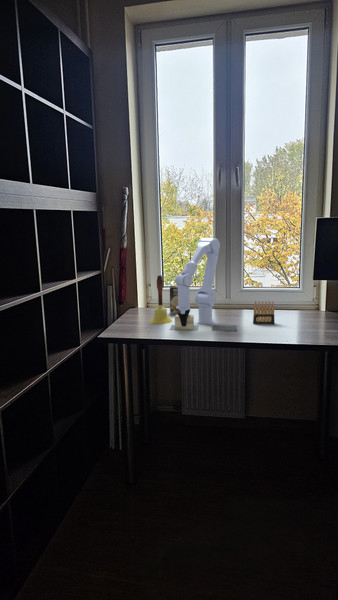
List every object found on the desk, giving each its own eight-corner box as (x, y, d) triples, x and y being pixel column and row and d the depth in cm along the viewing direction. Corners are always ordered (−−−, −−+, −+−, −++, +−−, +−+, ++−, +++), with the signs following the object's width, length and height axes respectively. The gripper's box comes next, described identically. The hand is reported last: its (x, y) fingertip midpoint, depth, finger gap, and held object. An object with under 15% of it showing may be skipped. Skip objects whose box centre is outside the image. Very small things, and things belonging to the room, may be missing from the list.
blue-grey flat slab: (171, 325, 214) (171, 325, 214) (198, 325, 212) (198, 325, 212) (169, 330, 204) (169, 330, 204) (197, 330, 202) (197, 330, 202)
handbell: (164, 325, 214) (162, 277, 210) (145, 322, 221) (143, 276, 216) (176, 320, 225) (175, 274, 220) (158, 317, 231) (156, 273, 227)
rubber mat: (212, 325, 211) (212, 325, 211) (236, 326, 209) (236, 325, 209) (212, 331, 201) (212, 330, 201) (237, 331, 200) (237, 330, 199)
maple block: (176, 326, 211) (175, 314, 210) (193, 326, 210) (193, 314, 209) (174, 328, 206) (174, 317, 205) (193, 329, 205) (192, 317, 204)
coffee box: (169, 315, 237) (169, 287, 234) (169, 312, 244) (169, 285, 241) (185, 314, 237) (185, 287, 234) (185, 312, 243) (185, 285, 240)
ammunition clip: (273, 323, 213) (274, 300, 211) (274, 324, 211) (275, 301, 209) (252, 323, 214) (253, 300, 212) (253, 324, 212) (253, 301, 210)
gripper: (177, 295, 213) (178, 321, 215) (174, 301, 198) (174, 328, 201) (191, 295, 212) (191, 321, 214) (188, 301, 198) (189, 328, 200)
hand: (184, 324), depth 208 cm, fingers closed on maple block, 5 cm apart
